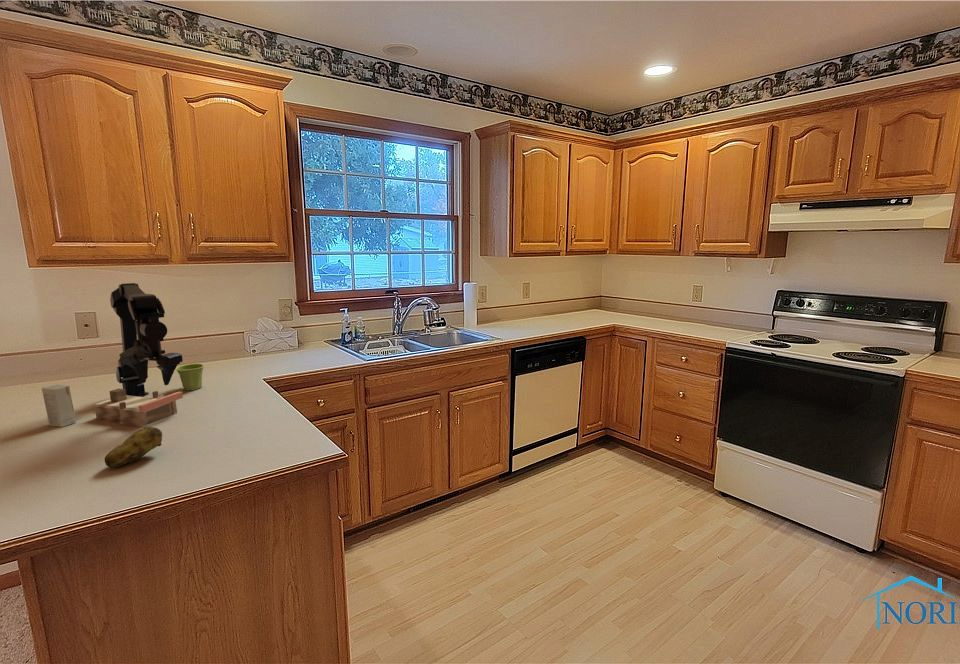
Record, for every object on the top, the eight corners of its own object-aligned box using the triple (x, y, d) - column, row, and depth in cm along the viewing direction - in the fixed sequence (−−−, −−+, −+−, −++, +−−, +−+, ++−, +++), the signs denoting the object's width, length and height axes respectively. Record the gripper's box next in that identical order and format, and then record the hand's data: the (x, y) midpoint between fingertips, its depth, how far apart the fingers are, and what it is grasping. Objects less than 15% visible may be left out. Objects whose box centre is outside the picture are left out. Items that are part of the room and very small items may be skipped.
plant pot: (181, 393, 178) (178, 371, 177) (176, 387, 185) (173, 366, 184) (208, 388, 184) (206, 367, 183) (203, 383, 191) (201, 362, 190)
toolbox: (92, 420, 152) (89, 399, 151) (129, 407, 164) (127, 387, 162) (142, 426, 147) (139, 405, 145) (177, 413, 158) (174, 393, 157)
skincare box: (77, 422, 150) (70, 385, 148) (61, 427, 146) (54, 389, 144) (63, 420, 152) (57, 383, 150) (47, 425, 148) (40, 387, 146)
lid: (96, 406, 153) (94, 393, 152) (124, 397, 161) (122, 385, 161) (143, 412, 148) (141, 398, 147) (169, 403, 156) (168, 389, 155)
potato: (104, 462, 124) (99, 433, 122) (162, 448, 132) (158, 421, 130) (106, 473, 117) (101, 443, 116) (167, 458, 126) (164, 429, 124)
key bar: (139, 411, 145) (138, 405, 144) (179, 397, 158) (178, 391, 158) (143, 412, 144) (142, 406, 144) (182, 397, 158) (182, 392, 157)
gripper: (99, 339, 142) (107, 389, 145) (147, 342, 137) (154, 394, 140) (134, 332, 153) (141, 379, 156) (181, 335, 148) (186, 383, 151)
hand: (155, 383), depth 150 cm, fingers open, 9 cm apart
